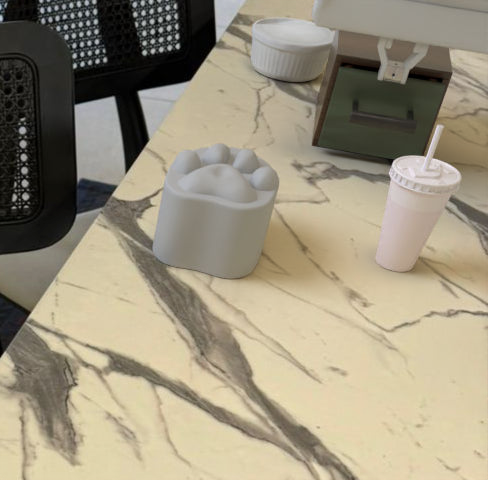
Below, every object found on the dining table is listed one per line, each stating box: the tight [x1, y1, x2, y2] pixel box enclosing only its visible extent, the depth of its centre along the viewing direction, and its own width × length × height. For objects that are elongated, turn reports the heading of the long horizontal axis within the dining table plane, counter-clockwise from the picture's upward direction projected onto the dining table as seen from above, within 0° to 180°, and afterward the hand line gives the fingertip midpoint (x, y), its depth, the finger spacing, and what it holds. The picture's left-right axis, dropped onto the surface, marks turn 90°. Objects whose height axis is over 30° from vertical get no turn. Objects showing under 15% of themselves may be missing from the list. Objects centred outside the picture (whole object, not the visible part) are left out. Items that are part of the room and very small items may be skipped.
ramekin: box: [250, 16, 335, 83], centre depth 137 cm, size 11×11×5 cm
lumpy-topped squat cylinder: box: [152, 142, 280, 280], centre depth 99 cm, size 10×13×9 cm
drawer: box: [317, 62, 445, 160], centre depth 118 cm, size 19×11×9 cm, turn 165°
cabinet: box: [311, 29, 454, 161], centre depth 122 cm, size 16×13×11 cm
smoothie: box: [374, 124, 463, 273], centre depth 96 cm, size 6×6×14 cm
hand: (390, 80), depth 111 cm, fingers closed, pressing on drawer
